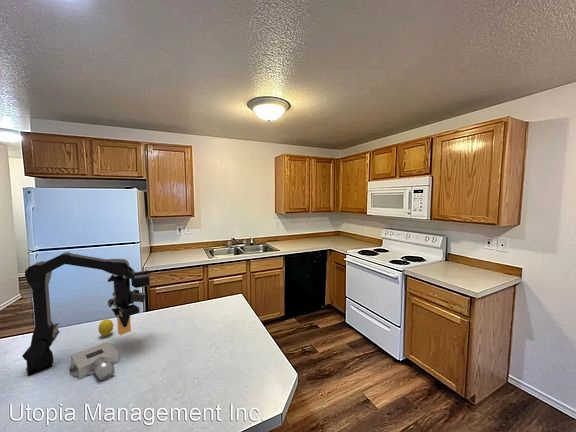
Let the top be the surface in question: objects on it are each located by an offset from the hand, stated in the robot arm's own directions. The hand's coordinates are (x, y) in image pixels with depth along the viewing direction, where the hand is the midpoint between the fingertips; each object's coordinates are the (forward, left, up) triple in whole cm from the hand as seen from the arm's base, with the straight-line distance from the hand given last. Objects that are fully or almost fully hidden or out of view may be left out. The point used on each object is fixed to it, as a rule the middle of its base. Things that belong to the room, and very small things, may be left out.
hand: (124, 325), depth 106 cm
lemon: (-2, +17, -10) cm, 20 cm away
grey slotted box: (-11, -6, -9) cm, 16 cm away
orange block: (0, 0, -3) cm, 3 cm away
